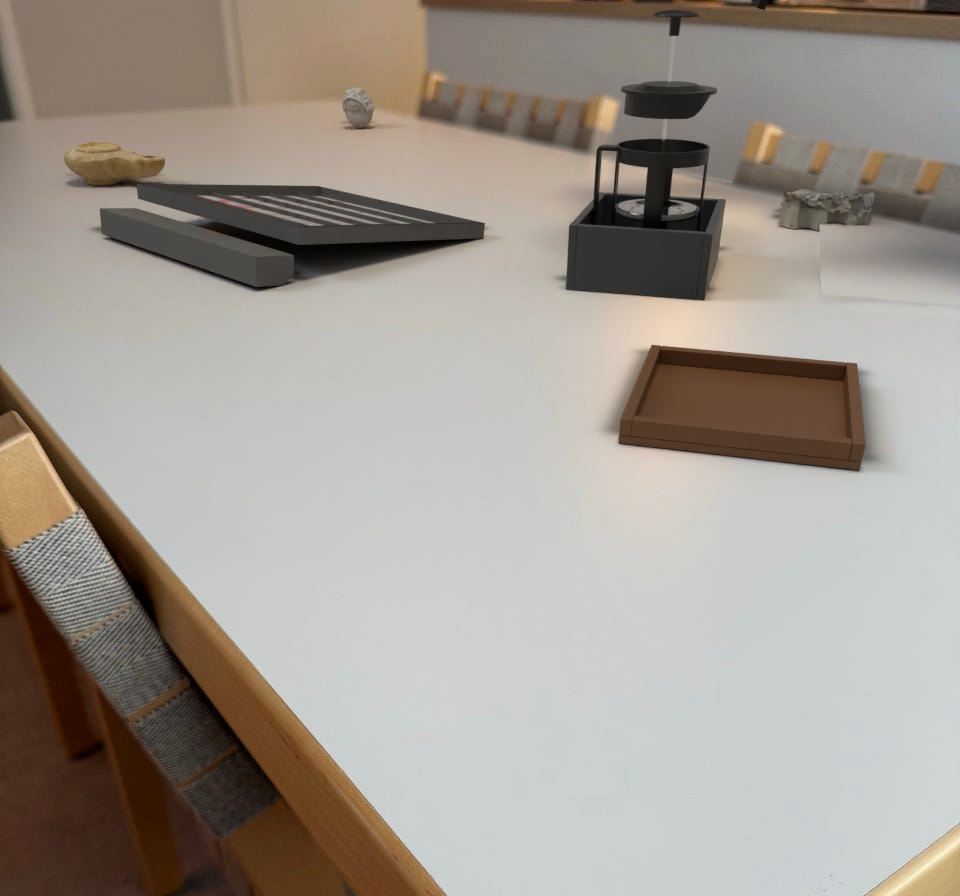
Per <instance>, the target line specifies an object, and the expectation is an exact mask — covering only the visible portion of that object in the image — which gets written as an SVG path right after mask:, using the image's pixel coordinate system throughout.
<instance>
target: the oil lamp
mask: <svg viewBox="0 0 960 896" xmlns="http://www.w3.org/2000/svg"><path fill="white" fill-rule="evenodd" d="M63 159H64V161H63V162H64V164H65V166H66V167H67V168H68V169H69V170H70V171H71V172H72V173H73V174H75V175H77V176H79V177H81V178H82V179H83V180H84V182H85V183H86V184H87V185H90V186H110V185H111V186H112V185H116V184H119V183H121V182H122V181H124V180H127V179H148V178H153V177H157V175H159V174H160V173H161V172H162V171H163V169H164V168H165V165H166V159H165V157H162V156H161V155H159V154H143V153H136V152H135V151H132V150H131V151H129V150H124V149H122V148H121V146H120V145H119V144H118V143H113V142H107V141H105V142H104V141H99V142H98V141H90V142H84V143H79V144H77V145H75V147H74V148H69V149H68V150H67V151H65V152H64V155H63Z"/></svg>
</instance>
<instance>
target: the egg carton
mask: <svg viewBox="0 0 960 896" xmlns="http://www.w3.org/2000/svg"><path fill="white" fill-rule="evenodd" d="M874 201H875V191H871V192H869V193H865V194H862V193H861V192H860V193H857V194H856V195H855V194H854V193H853V192H852V193H848V194H844V193H843V192H842V191H838V192H835V193H831V192H830V193H829V192H822V193H821V192H815V191H812V190H810V189H808V188H807V189H804V188H803V189H802V188H801V189H798V190H795V191H792V192H788V191H784V193H783V196H782V201H781V203H780V207H781V212H780V217H779V221H778V226H779V227H784V228H787V229H791V230H798V229H812V230H815V231H816V232H820V231H821V230H820V229H821V228H820V227H821V225H820V224H828V223H842V224H845V225H847V226H857V225H867V224H868V221H869V218H870V213H871V212H872V206H873V204H874Z"/></svg>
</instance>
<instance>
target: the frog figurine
mask: <svg viewBox="0 0 960 896" xmlns="http://www.w3.org/2000/svg"><path fill="white" fill-rule="evenodd" d="M345 90H346V91H345V94H344V98H343V99H342V107H341V108H342V111H343V112H344V114H345V118H346V119H347V121H348V123H349V124H350V125H351V126H353V127H354V128H356V129H364V128H366V127H367V126H369V125H370V123H371V122H372V119H373V115H374V111H375V104H374V102H373V100H372V97H371V96H370V95H369V94H368V93H367V92H365V90H363V89H362V88H361V87H359V86H358V87H356V86H352V88H350V89H349V88H347V89H345Z"/></svg>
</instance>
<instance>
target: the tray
mask: <svg viewBox="0 0 960 896" xmlns="http://www.w3.org/2000/svg"><path fill="white" fill-rule="evenodd" d="M644 359H645V360H644V362H643V364H642V366H641V370H640V371H639V373H638V376H637V378H636V381H635V383H634V386H633V388H632V391H631V393H630V395H629V397H628V400H627V402H626V404H625V407H624V409H623V412H622V414H621V416H620V419H619V428H618V429H619V430H618V439H617V440H618V441H617V443H618V444H624V445H634V446H642V447H649V448H659V447H660V448H659V449H667V448H668V449H667V450H676V449H677V450H676V451H684V450H686V452H693V453H702V454H712V455H720V456H727V457H728V456H729V457H737V458H738V457H739V458H746V459H755V460H763V461H764V460H765V461H772V462H773V461H774V462H781V463H790V464H799V465H808V466H817V467H826V468H835V469H844V470H852V471H860V470H861V465H862V461H863V459H864V454H865V450H866V446H867V444H866V434H865V425H864V416H863V405H862V398H861V397H862V395H861V388H860V387H861V386H860V377H859V368H858V367H859V366H858V362H848V361H847V362H845V361H834V360H823V359H813V358H801V357H791V356H780V355H770V354H769V355H768V354H757V353H747V352H737V351H735V352H734V351H726V350H725V351H724V350H714V349H703V348H693V347H692V348H691V347H689V348H688V347H679V346H669V345H659V344H651V345H650V348H649V349H648V352H647V354H646V357H645V358H644Z"/></svg>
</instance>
